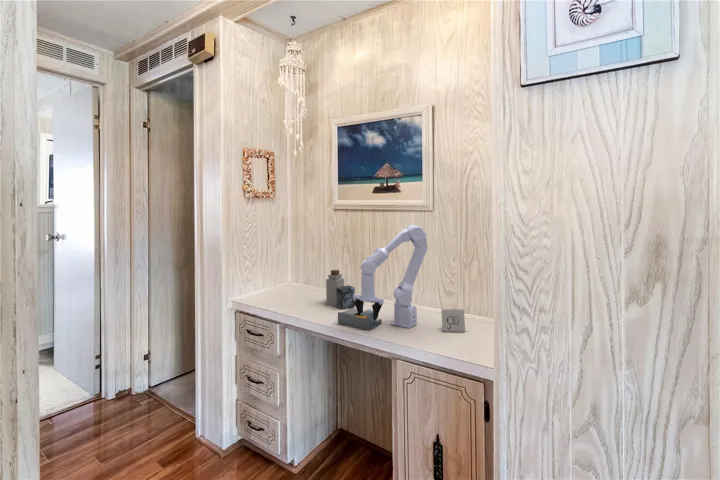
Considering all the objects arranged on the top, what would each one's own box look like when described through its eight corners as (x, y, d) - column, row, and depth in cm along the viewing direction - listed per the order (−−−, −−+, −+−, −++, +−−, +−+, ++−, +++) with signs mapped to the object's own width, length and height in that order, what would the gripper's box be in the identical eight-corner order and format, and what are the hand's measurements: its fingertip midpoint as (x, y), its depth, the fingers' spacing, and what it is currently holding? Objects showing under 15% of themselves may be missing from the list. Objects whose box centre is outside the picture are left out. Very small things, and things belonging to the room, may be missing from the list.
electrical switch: (442, 332, 154) (442, 310, 153) (440, 329, 159) (440, 307, 159) (465, 332, 153) (465, 310, 153) (462, 329, 158) (462, 307, 158)
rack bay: (381, 323, 164) (381, 311, 164) (369, 330, 156) (369, 318, 155) (350, 317, 174) (350, 306, 173) (337, 323, 165) (337, 311, 164)
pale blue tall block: (376, 323, 165) (376, 310, 164) (368, 328, 159) (368, 314, 159) (368, 322, 167) (368, 309, 167) (360, 326, 161) (360, 313, 161)
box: (342, 310, 185) (341, 289, 184) (336, 307, 190) (335, 287, 189) (355, 307, 190) (354, 287, 188) (349, 304, 194) (349, 285, 193)
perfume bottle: (344, 303, 197) (344, 270, 195) (337, 306, 191) (336, 272, 189) (334, 301, 201) (333, 268, 199) (326, 304, 195) (325, 270, 193)
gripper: (348, 287, 162) (349, 317, 163) (377, 291, 154) (377, 323, 155) (357, 284, 168) (358, 313, 169) (385, 288, 160) (385, 318, 161)
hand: (368, 318), depth 163 cm, fingers open, 7 cm apart
